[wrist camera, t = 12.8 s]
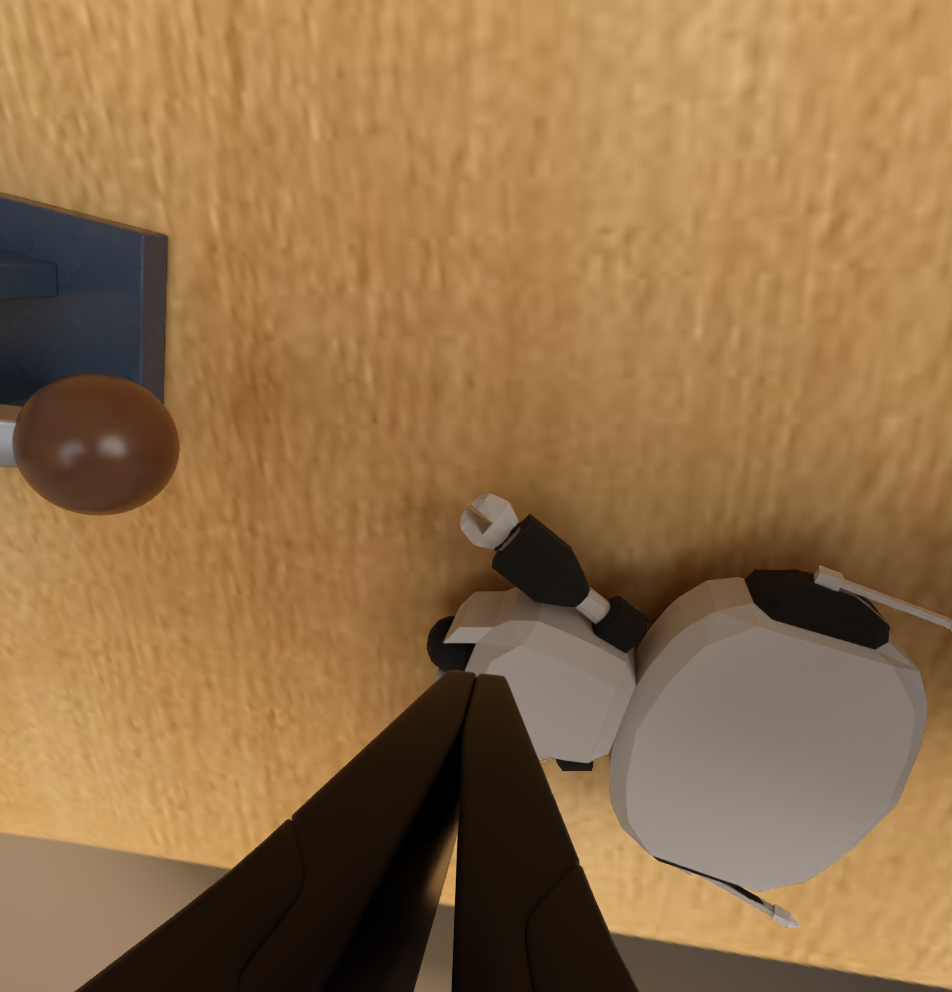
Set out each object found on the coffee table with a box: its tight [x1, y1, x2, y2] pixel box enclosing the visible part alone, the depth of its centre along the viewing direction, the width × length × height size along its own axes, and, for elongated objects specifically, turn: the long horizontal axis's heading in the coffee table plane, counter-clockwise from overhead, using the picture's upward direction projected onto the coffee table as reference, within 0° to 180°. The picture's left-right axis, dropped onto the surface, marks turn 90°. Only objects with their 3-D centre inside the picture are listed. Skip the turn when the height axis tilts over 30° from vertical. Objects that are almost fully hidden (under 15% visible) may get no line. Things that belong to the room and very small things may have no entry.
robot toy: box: [427, 492, 952, 928], centre depth 20 cm, size 12×4×15 cm
